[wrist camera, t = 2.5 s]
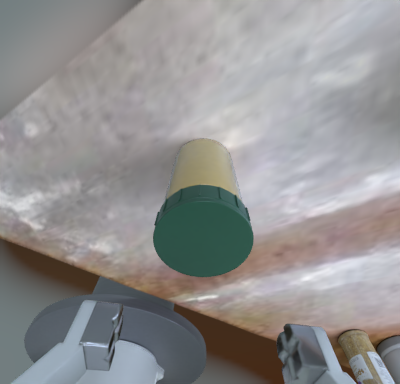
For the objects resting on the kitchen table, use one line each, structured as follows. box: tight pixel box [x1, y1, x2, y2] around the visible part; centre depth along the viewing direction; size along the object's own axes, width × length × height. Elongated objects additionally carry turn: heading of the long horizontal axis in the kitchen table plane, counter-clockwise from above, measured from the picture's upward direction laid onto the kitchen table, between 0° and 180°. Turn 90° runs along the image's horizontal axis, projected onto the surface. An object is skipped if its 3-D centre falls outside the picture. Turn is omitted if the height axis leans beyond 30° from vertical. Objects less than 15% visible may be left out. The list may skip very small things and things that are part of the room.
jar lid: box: [153, 184, 253, 277], centre depth 15 cm, size 6×6×2 cm
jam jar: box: [163, 139, 243, 204], centre depth 20 cm, size 6×6×11 cm
